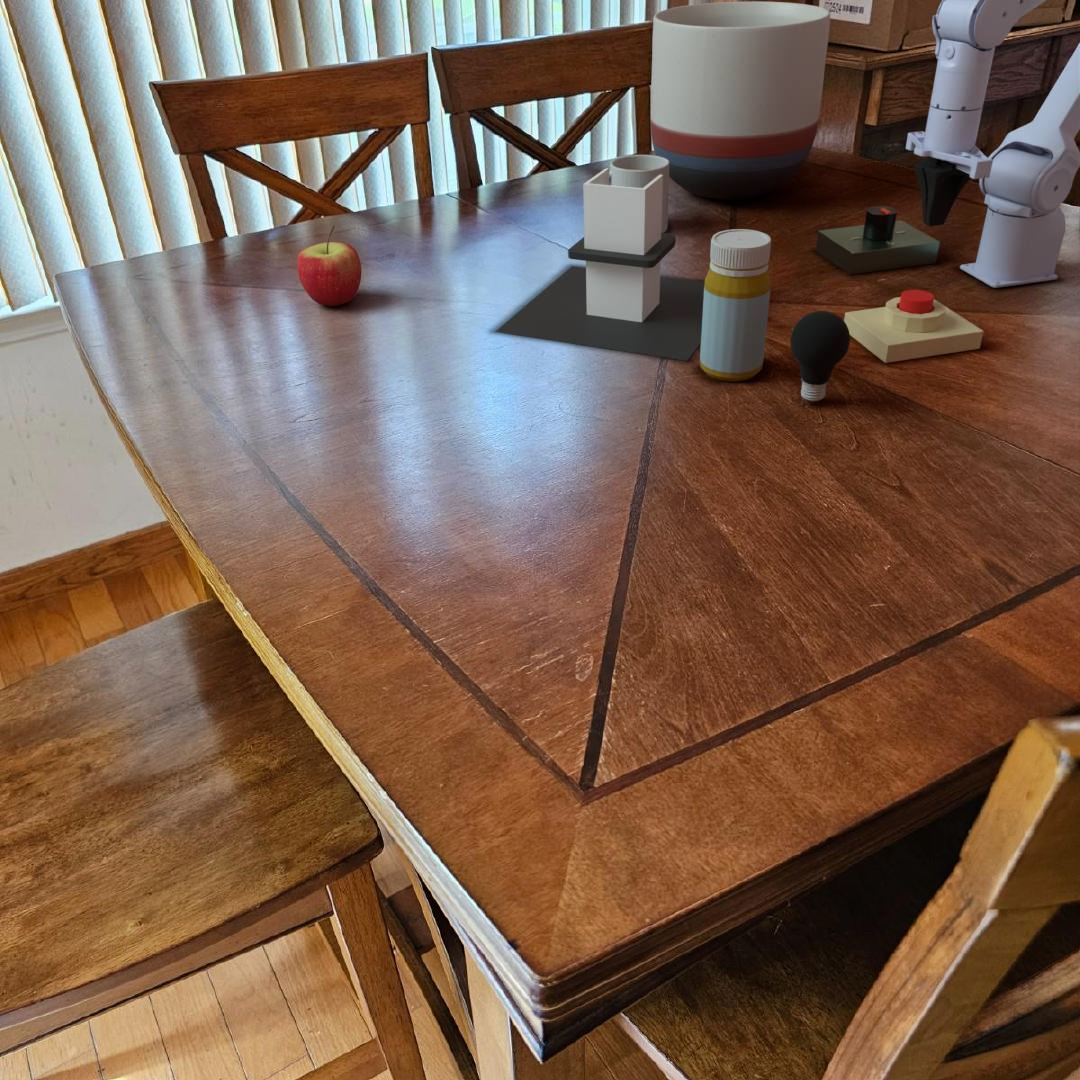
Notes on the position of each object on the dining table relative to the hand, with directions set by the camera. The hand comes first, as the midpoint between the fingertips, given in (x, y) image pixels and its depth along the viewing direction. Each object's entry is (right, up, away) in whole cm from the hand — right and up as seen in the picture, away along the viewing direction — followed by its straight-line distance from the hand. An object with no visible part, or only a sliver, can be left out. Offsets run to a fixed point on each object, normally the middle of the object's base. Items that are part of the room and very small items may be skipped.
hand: (933, 223), depth 121 cm
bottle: (-27, -20, -9) cm, 35 cm away
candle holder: (-38, -9, +6) cm, 39 cm away
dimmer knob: (-1, +3, +16) cm, 16 cm away
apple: (-76, -7, +12) cm, 77 cm away
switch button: (-5, -12, -7) cm, 15 cm away
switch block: (-5, -15, -5) cm, 17 cm away
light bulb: (-20, -24, -16) cm, 35 cm away
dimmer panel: (-1, +1, +18) cm, 18 cm away
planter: (-17, +20, +45) cm, 52 cm away
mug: (-34, +9, +32) cm, 48 cm away
